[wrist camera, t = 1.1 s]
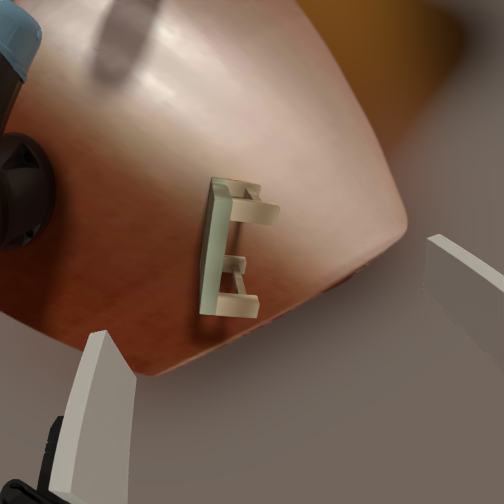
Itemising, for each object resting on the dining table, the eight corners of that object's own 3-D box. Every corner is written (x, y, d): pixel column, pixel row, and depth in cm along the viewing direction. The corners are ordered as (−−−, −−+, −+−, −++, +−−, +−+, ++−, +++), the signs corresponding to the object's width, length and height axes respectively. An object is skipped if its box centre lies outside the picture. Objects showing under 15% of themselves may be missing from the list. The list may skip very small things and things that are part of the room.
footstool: (199, 263, 39) (199, 313, 29) (211, 176, 35) (214, 199, 25) (242, 268, 40) (256, 318, 30) (258, 183, 36) (280, 208, 26)
